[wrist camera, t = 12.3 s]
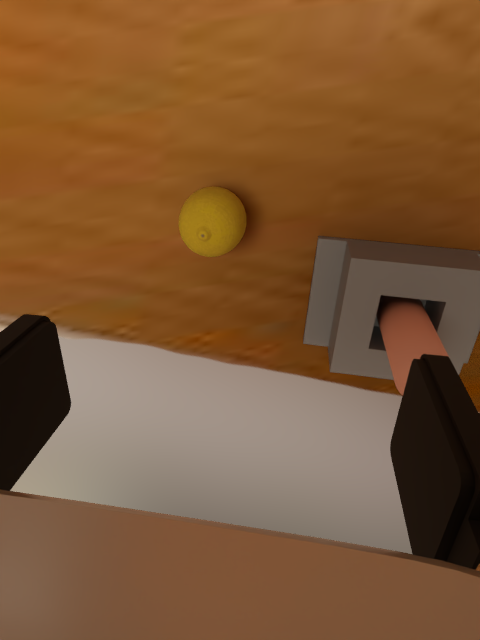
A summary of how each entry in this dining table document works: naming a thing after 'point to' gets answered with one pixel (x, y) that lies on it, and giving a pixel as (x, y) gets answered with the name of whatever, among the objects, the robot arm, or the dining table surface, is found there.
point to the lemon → (212, 221)
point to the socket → (390, 280)
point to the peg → (406, 335)
